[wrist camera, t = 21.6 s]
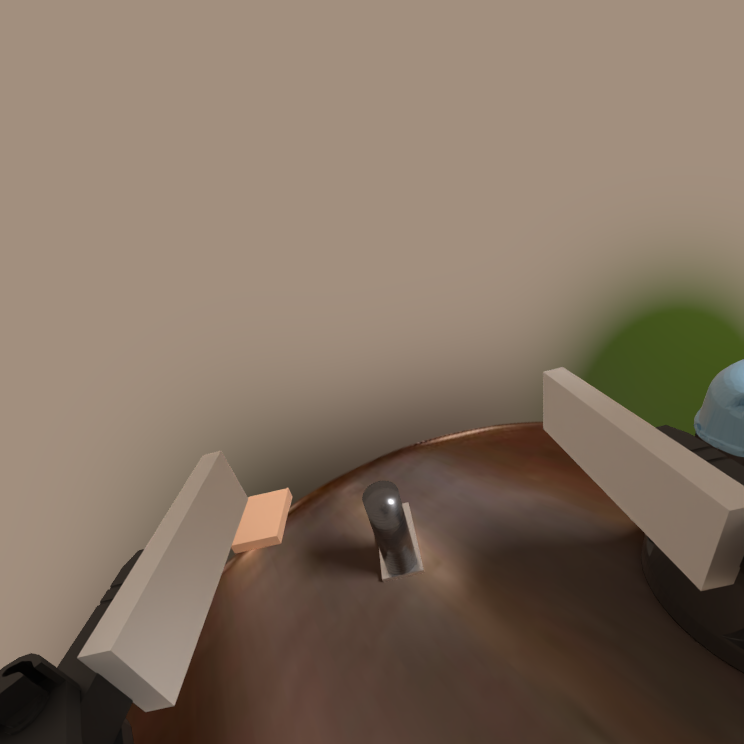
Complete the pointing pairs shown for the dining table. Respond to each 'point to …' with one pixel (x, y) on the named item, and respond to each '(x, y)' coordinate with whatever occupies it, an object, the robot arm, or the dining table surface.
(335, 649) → the dining table surface
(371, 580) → the dining table surface
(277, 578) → the dining table surface
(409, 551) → the metal post on base
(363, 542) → the dining table surface
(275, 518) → the tile
